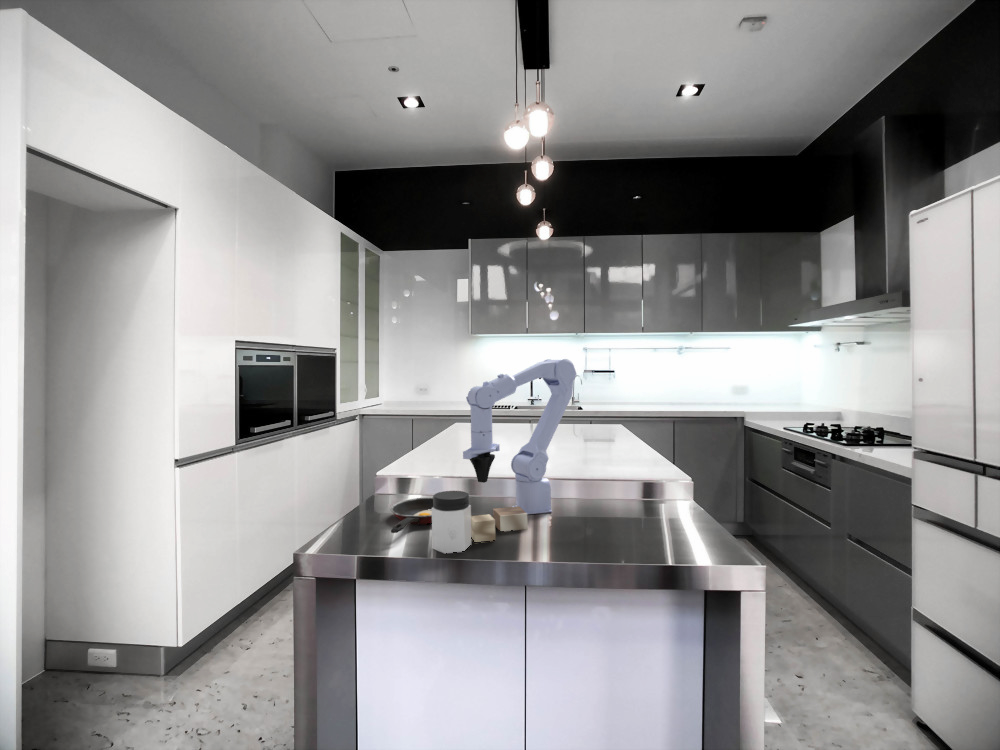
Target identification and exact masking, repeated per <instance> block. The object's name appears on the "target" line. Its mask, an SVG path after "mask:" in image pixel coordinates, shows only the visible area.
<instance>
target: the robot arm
mask: <svg viewBox="0 0 1000 750" xmlns="http://www.w3.org/2000/svg"><path fill="white" fill-rule="evenodd" d="M576 377H577V371H576V368H575V365H574V363H573V362H572V361H571V360H570V359H568V358H564V359H544V360H542V361H539V362H536V363H535V364H533V365H531V366H529V367H527V368H525V369H524V370H521V371H520V372H517V373H516V374H513V375H509V374H507V373H506V374H503V373H500V374H497V377H496V378H495V379H492V380H490V381H483V382H482V385H478V386H477V385H476V386H473V387H472V388H470V389H469V391H468V393H467V396H466V398H465V399H466V402H467V404H468V405H469V407H470V442H471V443H470V446H471V447H469V448H468V449H466V450H463V451H462V459H463V460H469V461H470V463H471V464H472V467H473V468H474V471H475V475H476V479H477V483H487V482H488V478H489V474H490V469H491V467H492V464H493V463H494V460H495V458H496V454H493V453H495V452H500V444H499V443H493V407H494V406H495V404H496V403H497V402H499V401H500V400H503V399H505V398H507V397H510V396H512V395H513V394H515V393H516V391H517V389H518V387H520V386H523V385H524V384H528V383H531V382H532V381H533V382H534V381H535V380H538V379H540V378H541V379H542V380H543V381H544V383H545V384H546V386H547V387H548V389H549V391H550V393H551V395H550V396H549V399H548V401H547V403H546V406H545V407H544V410H543V411H542V414H541V415H540V418H539V420H538V422H537V424H536V425H535V428H534V431H533V432H532V434H531V436H530V438H529V440H528V442H527V443H526V444H524V445H523V446H521V447H520V449H519V451H518V453H516V454H515V455H514V456H513V457H512V459H511V462H510V466H511V470H512V472H513V473H514V476H515V505H512V506H511V507H516V506H519V507H520V508H521V509H523V510H524V511H525V512H526V513H527V515H534V514H547V513H553V510H552V493H551V491H552V488H551V483H550V480H549V479H548V478H547V477H545V475H546V472H547V464H548V461H549V459H550V458H549V455H548V453H547V449H548V447H549V445H550V443H551V441H552V439H553V437H554V436H555V432H556V431H557V428H558V426H559V424H560V422H561V420H562V418H563V416H564V414H565V412H566V409H567V408H568V405H569V403H570V401H571V399H572V397H573V391H574V390H573V389H574V380H575V379H576Z"/></svg>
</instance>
